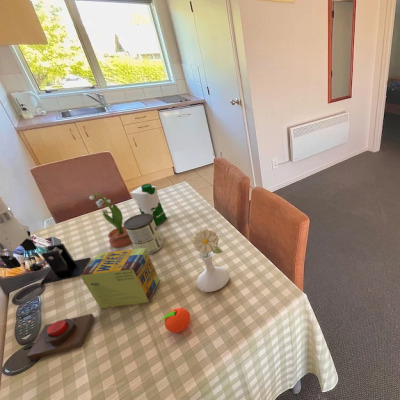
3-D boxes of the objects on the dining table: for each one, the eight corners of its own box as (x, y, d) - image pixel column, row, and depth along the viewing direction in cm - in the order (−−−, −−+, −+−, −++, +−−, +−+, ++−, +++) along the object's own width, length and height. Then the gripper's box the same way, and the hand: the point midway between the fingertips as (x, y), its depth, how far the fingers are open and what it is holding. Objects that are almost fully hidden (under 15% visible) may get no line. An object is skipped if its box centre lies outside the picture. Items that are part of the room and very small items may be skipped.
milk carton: (158, 227, 127) (143, 190, 117) (141, 225, 128) (125, 189, 118) (169, 216, 135) (157, 181, 125) (153, 215, 136) (139, 180, 126)
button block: (30, 360, 74) (22, 352, 72) (49, 329, 82) (42, 321, 80) (82, 346, 77) (75, 338, 75) (95, 317, 85) (89, 309, 83)
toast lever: (34, 274, 97) (24, 270, 95) (39, 268, 100) (30, 264, 98) (60, 255, 97) (51, 250, 95) (64, 250, 100) (55, 245, 98)
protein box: (150, 302, 90) (133, 269, 82) (100, 309, 88) (78, 275, 80) (160, 279, 99) (146, 247, 91) (115, 284, 97) (97, 252, 89)
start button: (47, 338, 75) (43, 334, 74) (54, 326, 79) (51, 322, 78) (64, 334, 76) (61, 330, 76) (70, 322, 80) (67, 318, 79)
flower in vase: (190, 289, 94) (169, 234, 82) (212, 267, 104) (196, 214, 91) (220, 300, 90) (203, 243, 78) (240, 276, 100) (228, 221, 87)
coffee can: (133, 247, 115) (120, 220, 108) (158, 236, 121) (148, 210, 114) (139, 258, 109) (126, 231, 101) (166, 246, 115) (156, 220, 108)
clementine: (163, 342, 78) (155, 327, 74) (165, 323, 83) (158, 308, 80) (193, 332, 80) (187, 317, 77) (192, 314, 86) (187, 299, 82)
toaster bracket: (42, 286, 97) (23, 262, 91) (55, 267, 105) (39, 244, 99) (81, 277, 100) (66, 253, 94) (91, 260, 108) (78, 237, 102)
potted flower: (101, 247, 115) (74, 197, 102) (120, 233, 123) (96, 186, 110) (126, 250, 113) (100, 200, 100) (143, 236, 121) (121, 187, 109)
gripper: (-2, 206, 92) (24, 245, 100) (-41, 235, 78) (-7, 277, 86) (26, 203, 94) (49, 241, 103) (-8, 230, 80) (22, 272, 88)
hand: (23, 258), depth 94 cm, fingers open, 9 cm apart
